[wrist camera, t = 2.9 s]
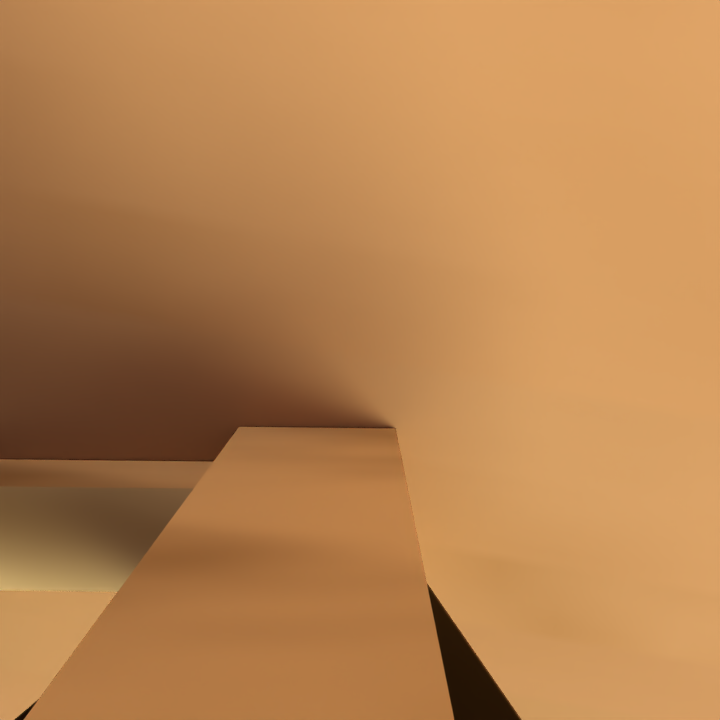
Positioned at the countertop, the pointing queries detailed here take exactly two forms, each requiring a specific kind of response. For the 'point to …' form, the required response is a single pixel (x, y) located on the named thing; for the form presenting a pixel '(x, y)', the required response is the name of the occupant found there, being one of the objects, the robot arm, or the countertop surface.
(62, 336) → the countertop surface
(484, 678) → the robot arm
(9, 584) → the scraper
